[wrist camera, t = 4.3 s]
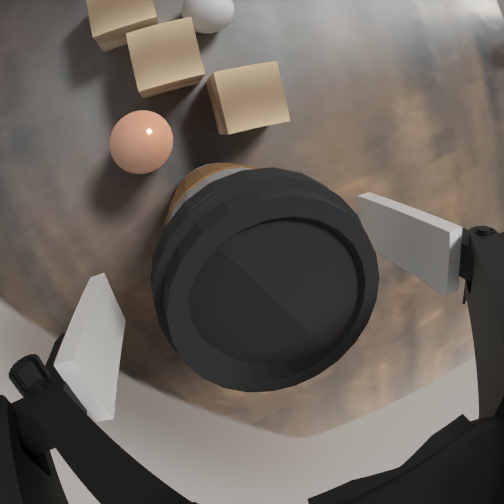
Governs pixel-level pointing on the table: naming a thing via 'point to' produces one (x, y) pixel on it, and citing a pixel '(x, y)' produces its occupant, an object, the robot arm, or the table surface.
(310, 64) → the table surface
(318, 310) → the coffee cup
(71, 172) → the table surface
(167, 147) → the pink rounded piece
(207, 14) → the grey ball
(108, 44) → the maple cube
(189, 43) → the maple cube
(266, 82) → the maple cube
